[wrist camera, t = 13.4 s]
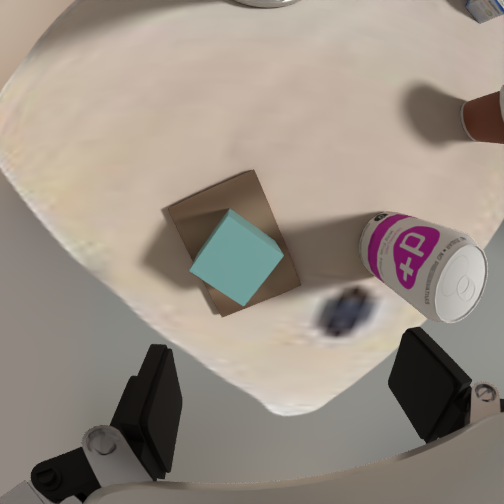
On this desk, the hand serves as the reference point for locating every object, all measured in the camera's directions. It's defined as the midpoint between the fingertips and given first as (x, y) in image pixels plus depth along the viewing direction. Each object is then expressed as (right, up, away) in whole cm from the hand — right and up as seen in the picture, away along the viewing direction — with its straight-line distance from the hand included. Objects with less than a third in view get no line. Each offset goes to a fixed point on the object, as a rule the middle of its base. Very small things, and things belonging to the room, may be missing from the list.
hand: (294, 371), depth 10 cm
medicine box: (+42, +52, +12) cm, 67 cm away
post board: (-3, +5, +21) cm, 22 cm away
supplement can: (+15, +6, +23) cm, 28 cm away
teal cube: (-3, +5, +20) cm, 21 cm away
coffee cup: (+32, +24, +19) cm, 44 cm away
